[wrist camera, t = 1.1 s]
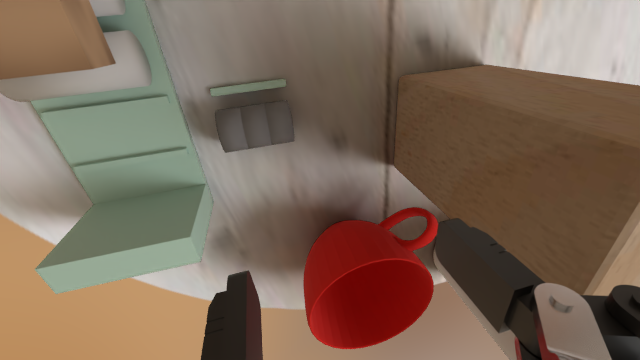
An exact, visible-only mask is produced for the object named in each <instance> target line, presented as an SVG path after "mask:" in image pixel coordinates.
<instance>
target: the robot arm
mask: <svg viewBox="0 0 640 360" xmlns="http://www.w3.org/2000/svg"><path fill="white" fill-rule="evenodd" d="M435 252H436V256H437V258H438V260H439V262H440V263H441V264H442V266H443V267H444V268H445V269H446V271H447V272H448V273H449V274H450V275H451V277H452V278H453V279H454V280H455V281H456V283H457V284H458V285H459V286H460V287H461V289H462V290H463V291H464V292H465V293H466V295H467V296H468V297H469V298H470V300H471V301H472V302H473V303H474V304H475V306H476V307H477V308H478V309H479V310H480V312H481V313H482V314H483V315H484V316H485V318H486V319H487V320H488V321H489V322H490V324H491V325H492V326H493V327H494V329H495V330H496V331H497V332H498V333H502V332H505V331H508V330H511V331H512V332H513V333H514V335H515V338H514V344H515V351H516V357H517V360H640V287H637V286H633V285H618V286H615V287H614V288H613V289H612V291H611V292H610V294H609V296H596V295H579V294H578V293H576V292H575V291H573V290H571V289H569V288H567V287H565V286H562V285H558V284H554V283H545V282H544V281H543V280H542V279H540V278H539V277H538V276H537V275H536V274H535V273H533V272H532V271H531V270H530V269H529V268H527V267H526V266H525V265H524V264H523V263H521V262H520V261H519V260H518V259H517V258H516V257H514V256H513V255H512V254H511V253H510V252H507V250H506V249H505V248H504V247H503V246H501V245H500V244H498V242H497V241H495V240H494V239H493V238H492V237H491V236H490V235H488V234H487V233H485V232H483V231H481V230H479V229H477V228H475V227H471V228H470V227H469V226H468V225H467V224H466V223H465V222H463V221H462V220H461V219H459V218H454V219H450V220H447V221H443V222H440V223H439V224H438V229H437V237H436V245H435ZM261 331H262V330H261V309H260V302H259V297H258V294H257V291H256V289H255V286H254V283H253V280H252V277H251V274H250V272H249V271H244V272H240V273H236V274H232V275H229V276H228V281H227V291H224V292H220V293H216V295H215V297H214V299H213V300H212V302H211V304H210V306H209V309H208V315H207V324H206V329H205V337H204V342H203V349H202V355H201V360H263V355H262V332H261Z"/></svg>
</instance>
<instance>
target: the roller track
mask: <svg viewBox="0 0 640 360" xmlns="http://www.w3.org/2000/svg"><path fill="white" fill-rule="evenodd" d="M89 2H90V4H91V6H92V9H93V11H94V13H95V16H96V18H97V20H98V23H99V25H100V27H101V30H102V32H103V34H104V37H105V39H106V41H107V44H108V46H109V48H110V50H111V53H112V55H113V57H114V60H115V62H116V64H112V65H108V66H104V67H100V68H95V69H90V70H81V71H73V72H64V73H55V74H46V75H38V76H29V77H20V78H11V79H3V80H0V93H2V94H3V95H4V96H6V97H8V98H10V99H12V100H14V101H19V102H26V101H30V102H31V103H32V105H33V107H34V108H35V110H36V111H37V113H38V115H39V116H40V118H41V120H42V121H43V123H44V124H45V126H46V128H47V129H48V131H49V133H50V134H51V136H52V137H53V139H54V141H55V142H56V144H57V146H58V147H59V149H60V151H61V152H62V154H63V155H64V157H65V159H66V160H67V162H68V164H69V165H70V167H71V168H72V170H73V172H74V173H75V175H76V177H77V178H78V180H79V181H80V183H81V185H82V186H83V188H84V190H85V191H86V193H87V195H88V196H89V198H90V199H91V201H92V203H93V204H94V205H93V206H92V207H91V208H90V209H89V210H88V211H87V212H86V213H85V215H84V216H83V217H82V218H81V219H80V220H79V221H78V222H77V223H76V225H75V226H74V227H73V228H72V229H71V230H70V231H69V232H68V233H67V234H66V236H65V237H64V238H63V239H62V240H61V241H60V242H59V243H58V244H57V245H56V247H55V248H54V249H53V250H52V251H51V252H50V253H49V254H48V255H47V256H46V258H45V259H44V260H43V261H42V262H41V263H40V264H39V265H38V266H37V268H36V269H35V270H36V272H37V273H38V274H39V275H40V276H41V277H42V278H43V280H44V281H45V282H46V283H47V284H48V285H49V287H50V288H51V289H52V290H53V291H54V292H55V293H56V294H58V293H63V292H67V291H71V290H76V289H81V288H85V287H89V286H94V285H99V284H103V283H107V282H112V281H116V280H121V279H125V278H130V277H134V276H139V275H143V274H148V273H152V272H157V271H161V270H166V269H170V268H175V267H179V266H184V265H188V264H193V263H197V262H201V259H202V254H203V249H204V245H205V240H206V235H207V231H208V226H209V221H210V217H211V212H212V207H213V203H214V201H213V198H212V196H211V193H210V190H209V187H208V184H207V181H206V178H205V175H204V172H203V169H202V167H201V164H200V161H199V158H198V155H197V152H196V149H195V146H194V143H193V140H192V138H191V135H190V132H189V129H188V126H187V123H186V120H185V117H184V114H183V111H182V108H181V106H180V103H179V100H178V97H177V94H176V91H175V88H174V85H173V82H172V79H171V77H170V74H169V71H168V68H167V65H166V62H165V59H164V56H163V53H162V50H161V48H160V45H159V42H158V39H157V36H156V33H155V30H154V27H153V24H152V21H151V19H150V16H149V13H148V10H147V7H146V4H145V1H144V0H89Z"/></svg>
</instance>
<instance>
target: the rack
mask: <svg viewBox="0 0 640 360" xmlns="http://www.w3.org/2000/svg"><path fill="white" fill-rule="evenodd" d="M279 87H286V81H285V79H277V80H270V81H262V82H255V83H247V84H240V85H232V86H224V87H217V88H210V92H211V96H212V97H213V96H220V95H228V94H235V93H242V92H250V91H257V90H264V89H272V88H279Z"/></svg>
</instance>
